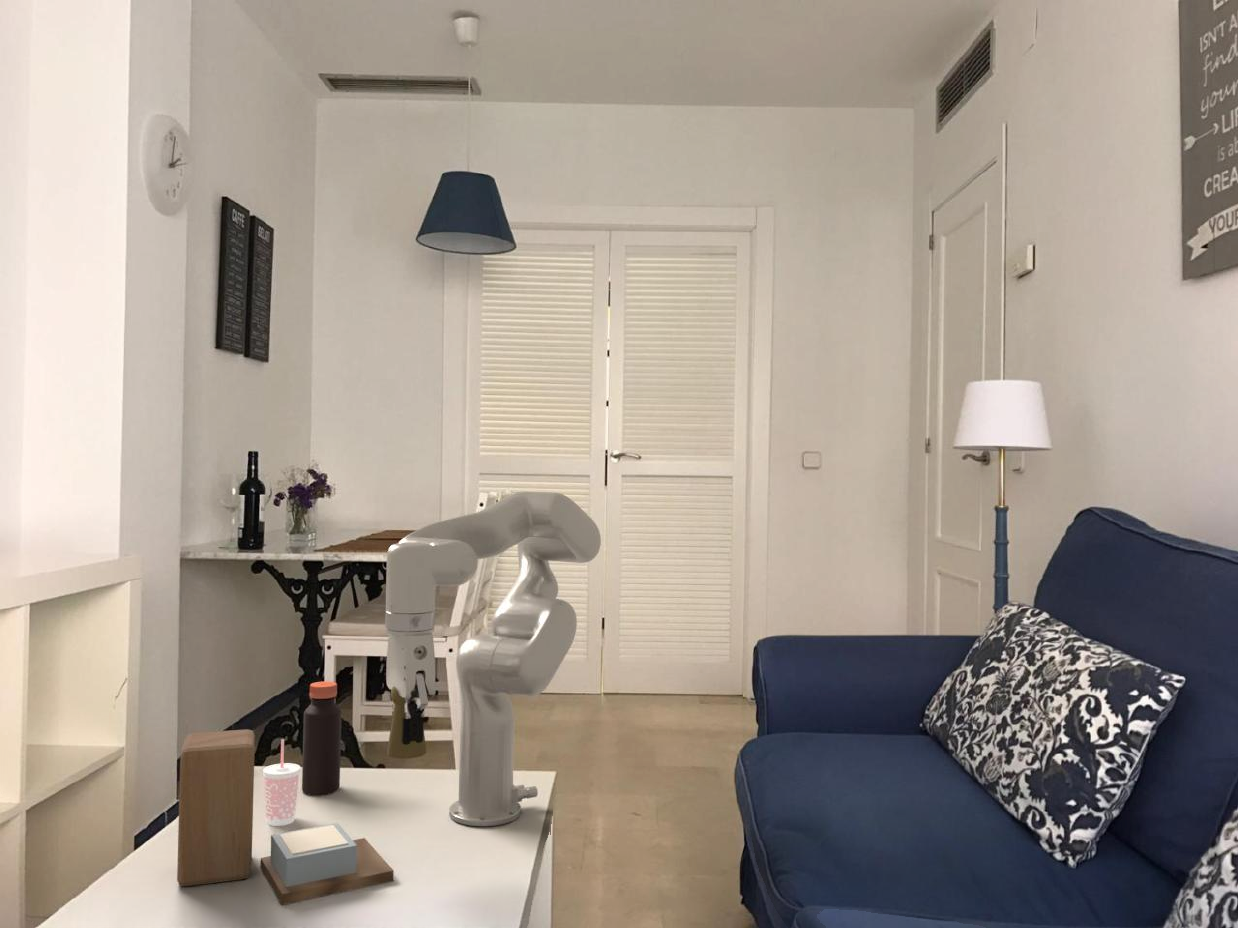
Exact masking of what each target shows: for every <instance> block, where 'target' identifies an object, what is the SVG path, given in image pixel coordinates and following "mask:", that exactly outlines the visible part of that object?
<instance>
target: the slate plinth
mask: <svg viewBox="0 0 1238 928" xmlns="http://www.w3.org/2000/svg"><path fill="white" fill-rule="evenodd" d="M353 840H354V839H352V838H351V837H350V835H349V834H348V833H347V832H346V831H345V830H344V828H343V827H342V826H341V825H340V824H339V823H338V822H335V823H329V824H324V825H318V826H313V827H307V828H302V829H297V830H292V831H291V830H290V831H284V832H280V833H275V834H271V835H270V856H271V860H270V861H271V863H272V865H273V866H274V868H275V870H276V871H277V873H278V875H279V876H280V878H281V880H282V881H283V883H284V884H285V886H286V887H289V886H294V885H299V884H304V883H308V882H313V881H318V880H323V879H327V878H332V877H337V876H342V875H346V874H351V873H356V859H357V845H356V844H355V843H354V841H353Z"/></svg>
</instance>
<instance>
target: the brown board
mask: <svg viewBox="0 0 1238 928" xmlns="http://www.w3.org/2000/svg"><path fill="white" fill-rule="evenodd" d="M352 840H353V841H354V843H355V844H356V845H357V859H356V873H351V874H346V875H342V876H337V877H332V878H327V879H323V880H318V881H313V882H308V883H304V884H299V885H294V886H289V887H286V886H285V884H284V883H283V881H282V880H281V878H280V876H279V875H278V873H277V871H276V870H275V868H274V866H273V865H272V863H271V861H270V860H271V855H269V856H263V857H260V866H259V867H260V869H261V871H262V873H263V874H264V876H265V879H266V880H267V882H268V883H269V885H270V887H271V888H272V891H273V892H274V894H275V896H276V897H277V899H278V901H279V903H280V902H281V903H280V905H282V906H283V905H289V904H293V903H297V902H302V900H303V901H307V900H310V899H311V898H312V899H315V898H321V897H325V896H329V895H334V894H339V893H343V892H348V891H352V890H356V889H360V888H361V889H362V888H365V887H370V886H371V887H372V886H375V885H379V884H383V883H388V882H394V869H393V868H392V867H391V866H390V865H389V863H388V862H387V861H386V860H385V859H384V858H383V857H382V855H380V853H379V852H377V850H376V849H375V848H374V846H373V845H372V844H371V843H370V842H369V841H368V840H367V839H366V837H363V838H358V839H352ZM305 899H306V900H305ZM312 899H311V900H312ZM292 902H293V903H292ZM288 903H289V904H288Z"/></svg>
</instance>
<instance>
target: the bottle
mask: <svg viewBox="0 0 1238 928" xmlns="http://www.w3.org/2000/svg"><path fill="white" fill-rule="evenodd" d="M337 695H338V683H337V682H334V681H326V680H325V681H317V682H316V681H315V682H312V683H310V685H309V700H310V704H309V705H308V707H306V708H305V710H303V711H304V712H303V726H302V727H303V730H302V731H303V732H302V733H303V734H302V735H303V736H302V765H301V766H302V767H301V769H302V770H301V771H302V774H301V791H302V792H303V794H305V795H308V796H314V797H315V796H318V797H319V796H327V795H331V794H335V793H336V792H337V791H338V790H339V789H340V783H341V782H340V779H341V747H342V746H341V744H342V713H343V711H342V709H341V707H340V706H339V705H338V704H337V703H336V699H337Z"/></svg>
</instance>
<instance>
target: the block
mask: <svg viewBox="0 0 1238 928" xmlns="http://www.w3.org/2000/svg"><path fill="white" fill-rule="evenodd" d="M183 741H184V742H183V746H182V748H181V753H180V758H179V759H180V761H179V797H178V798H179V799H178V800H179V801H178V827H177V828H178V831H177V832H178V836H177V868H176V869H177V871H176V873H177V875H176V876H177V877H176V881H177V883H178V885H179V886H181V887H188V886H189V887H190V886H197V885H198V886H199V885H205V884H206V885H207V884H214V883H221V882H230V881H237V880H239V881H240V880H245V879H247V878H249V877H250V874H251V873H252V865H253V864H252V861H253V860H252V857H253V827H254V826H253V821H254V820H253V819H254V784H255V783H254V782H255V751H256V750H255V743H256V735H255V732H254V730H251V729H248V728H247V729H236V730H235V729H233V730H220V731H219V730H218V731H206V732H205V731H204V732H191V733H189V734H187V735H186V737H185V739H184V740H183Z"/></svg>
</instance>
